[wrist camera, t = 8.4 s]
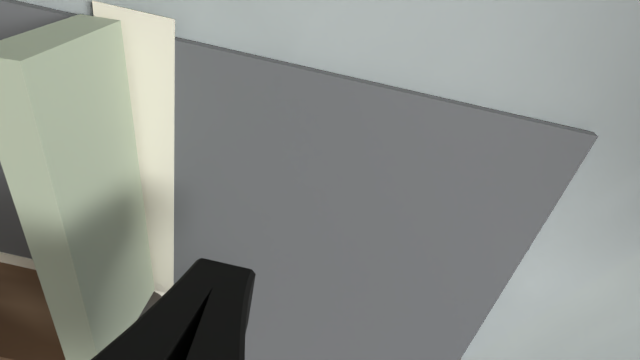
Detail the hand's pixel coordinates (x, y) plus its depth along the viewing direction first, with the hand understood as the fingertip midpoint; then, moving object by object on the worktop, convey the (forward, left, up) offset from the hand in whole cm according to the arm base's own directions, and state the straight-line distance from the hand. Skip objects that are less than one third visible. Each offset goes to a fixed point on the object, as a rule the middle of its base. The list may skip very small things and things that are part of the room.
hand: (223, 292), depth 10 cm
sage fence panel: (-1, +5, -5) cm, 7 cm away
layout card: (-8, +4, -6) cm, 10 cm away
